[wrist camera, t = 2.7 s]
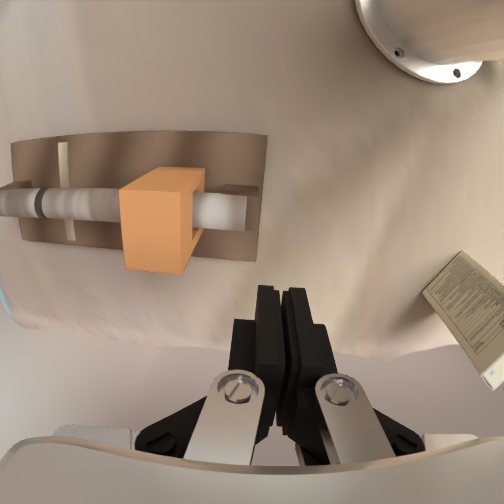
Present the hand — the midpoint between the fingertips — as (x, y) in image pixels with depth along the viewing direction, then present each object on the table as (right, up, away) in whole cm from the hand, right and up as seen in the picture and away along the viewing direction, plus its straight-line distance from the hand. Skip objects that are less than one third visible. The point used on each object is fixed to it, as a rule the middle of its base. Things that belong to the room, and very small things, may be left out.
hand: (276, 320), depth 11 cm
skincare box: (+19, 0, +16) cm, 25 cm away
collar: (-6, +6, +12) cm, 15 cm away
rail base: (-12, +8, +13) cm, 19 cm away
